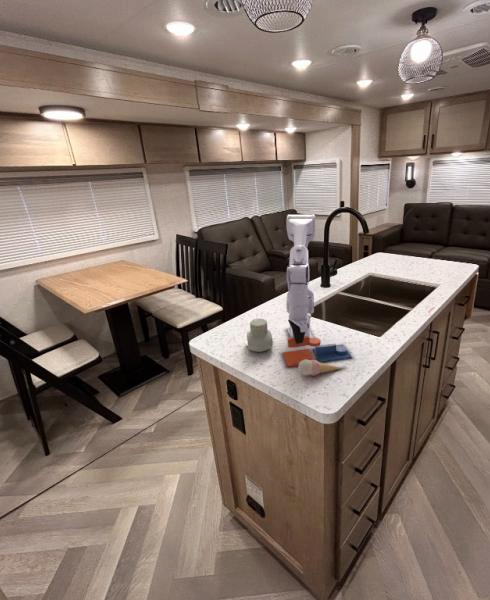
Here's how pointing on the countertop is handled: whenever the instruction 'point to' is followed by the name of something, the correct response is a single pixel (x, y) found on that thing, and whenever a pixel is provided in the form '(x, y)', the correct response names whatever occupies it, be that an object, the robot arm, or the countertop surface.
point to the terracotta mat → (297, 357)
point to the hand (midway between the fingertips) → (298, 341)
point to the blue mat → (332, 356)
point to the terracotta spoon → (304, 342)
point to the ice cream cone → (314, 367)
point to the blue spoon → (330, 349)
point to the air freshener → (259, 336)
